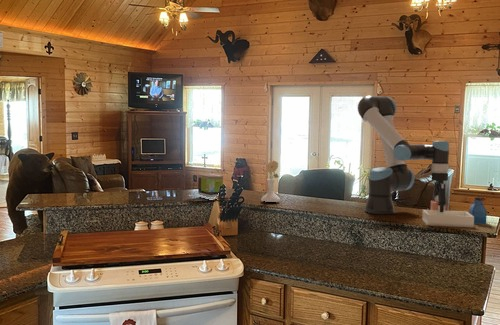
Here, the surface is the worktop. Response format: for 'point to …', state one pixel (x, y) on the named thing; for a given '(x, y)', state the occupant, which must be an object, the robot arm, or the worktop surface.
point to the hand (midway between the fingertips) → (438, 217)
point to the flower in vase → (271, 183)
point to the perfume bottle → (478, 211)
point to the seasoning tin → (435, 206)
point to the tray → (448, 218)
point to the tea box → (209, 184)
